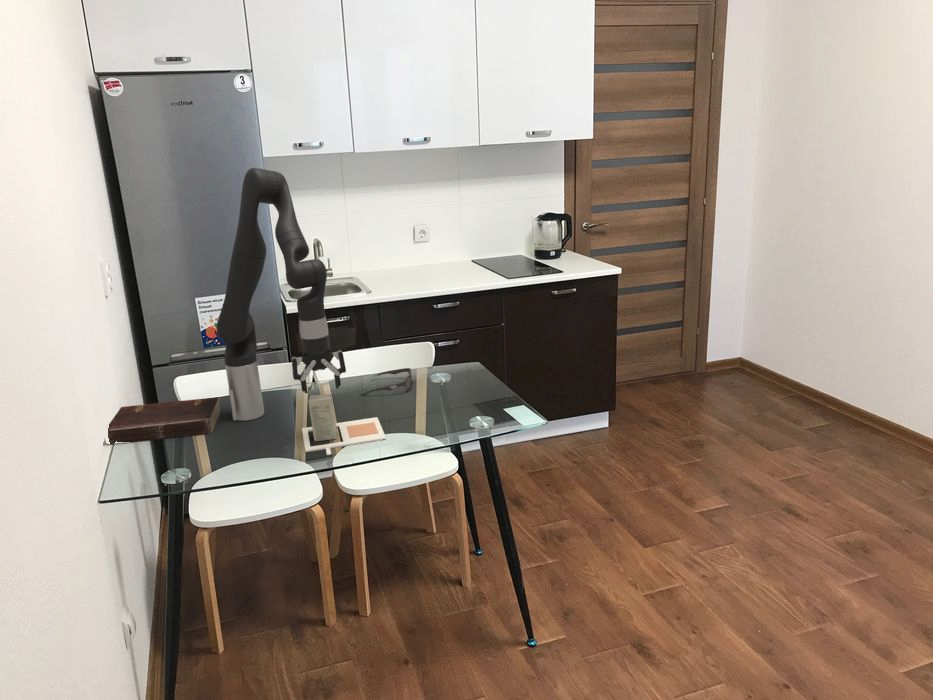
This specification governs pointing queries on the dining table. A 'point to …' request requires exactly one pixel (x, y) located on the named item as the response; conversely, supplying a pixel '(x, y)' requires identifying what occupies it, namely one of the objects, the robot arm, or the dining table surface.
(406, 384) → the sunglasses
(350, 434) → the window card
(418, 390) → the dining table surface
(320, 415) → the skincare box
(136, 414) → the hardback book
